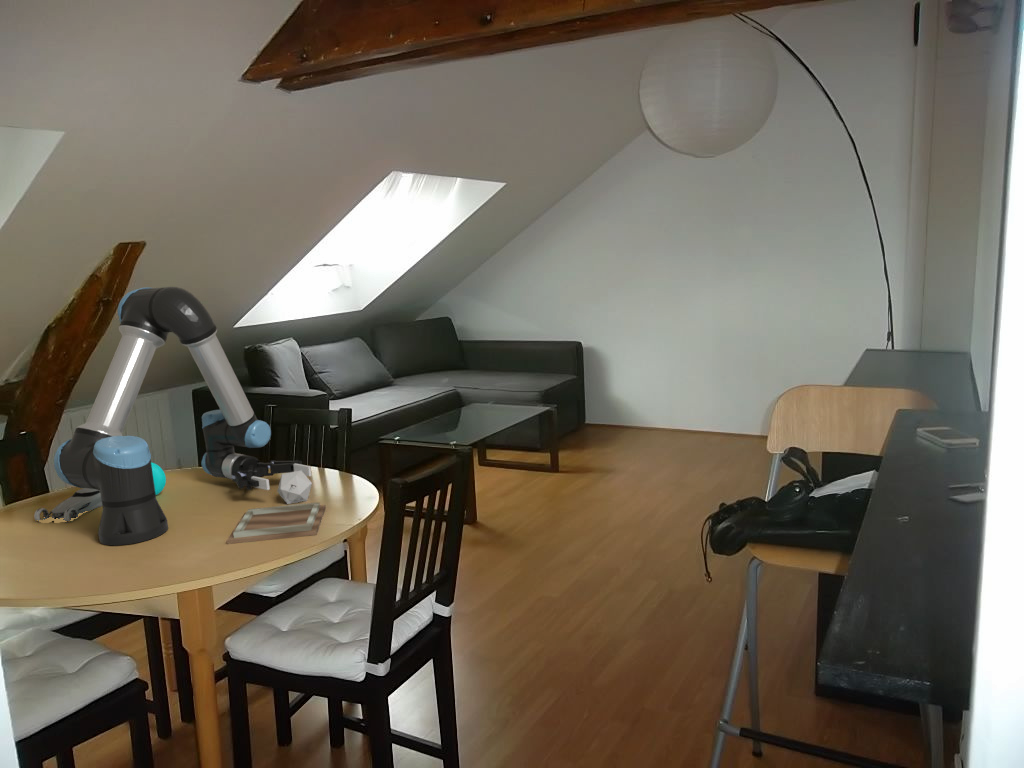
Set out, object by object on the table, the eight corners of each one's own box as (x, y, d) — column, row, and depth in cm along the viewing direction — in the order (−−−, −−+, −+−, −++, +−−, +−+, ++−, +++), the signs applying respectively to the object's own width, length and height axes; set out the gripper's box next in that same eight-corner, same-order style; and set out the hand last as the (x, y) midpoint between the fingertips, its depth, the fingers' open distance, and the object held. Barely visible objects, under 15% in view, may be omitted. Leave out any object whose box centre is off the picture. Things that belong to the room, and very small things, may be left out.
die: (272, 506, 210) (273, 483, 204) (284, 482, 217) (286, 459, 211) (302, 515, 211) (304, 492, 204) (314, 491, 217) (316, 468, 211)
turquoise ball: (117, 507, 216) (112, 471, 214) (134, 496, 226) (129, 461, 224) (154, 505, 216) (149, 469, 214) (169, 493, 226) (165, 459, 224)
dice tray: (245, 515, 202) (244, 508, 201) (325, 507, 204) (325, 500, 204) (227, 543, 182) (226, 535, 182) (316, 534, 184) (315, 526, 184)
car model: (31, 525, 207) (28, 506, 206) (95, 495, 230) (92, 478, 229) (69, 525, 205) (66, 506, 204) (130, 495, 228) (127, 478, 227)
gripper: (280, 469, 236) (327, 479, 223) (203, 493, 217) (250, 504, 204) (277, 445, 235) (325, 453, 222) (200, 466, 215) (247, 476, 202)
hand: (289, 477), depth 213 cm, fingers open, 13 cm apart
